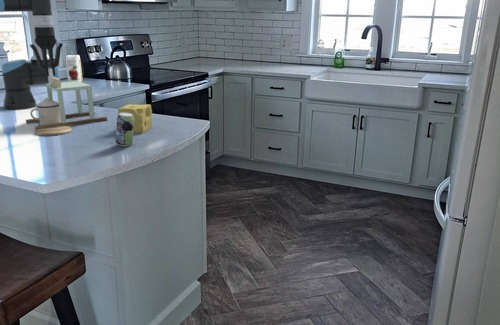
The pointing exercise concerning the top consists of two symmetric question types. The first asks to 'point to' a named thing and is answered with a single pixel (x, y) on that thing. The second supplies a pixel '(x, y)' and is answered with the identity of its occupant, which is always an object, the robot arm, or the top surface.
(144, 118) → the cheese
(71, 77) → the juice carton
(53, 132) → the trivet
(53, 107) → the teacup with lid
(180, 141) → the top surface
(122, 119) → the beverage can
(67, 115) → the rails
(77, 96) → the small green table
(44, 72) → the robot arm
